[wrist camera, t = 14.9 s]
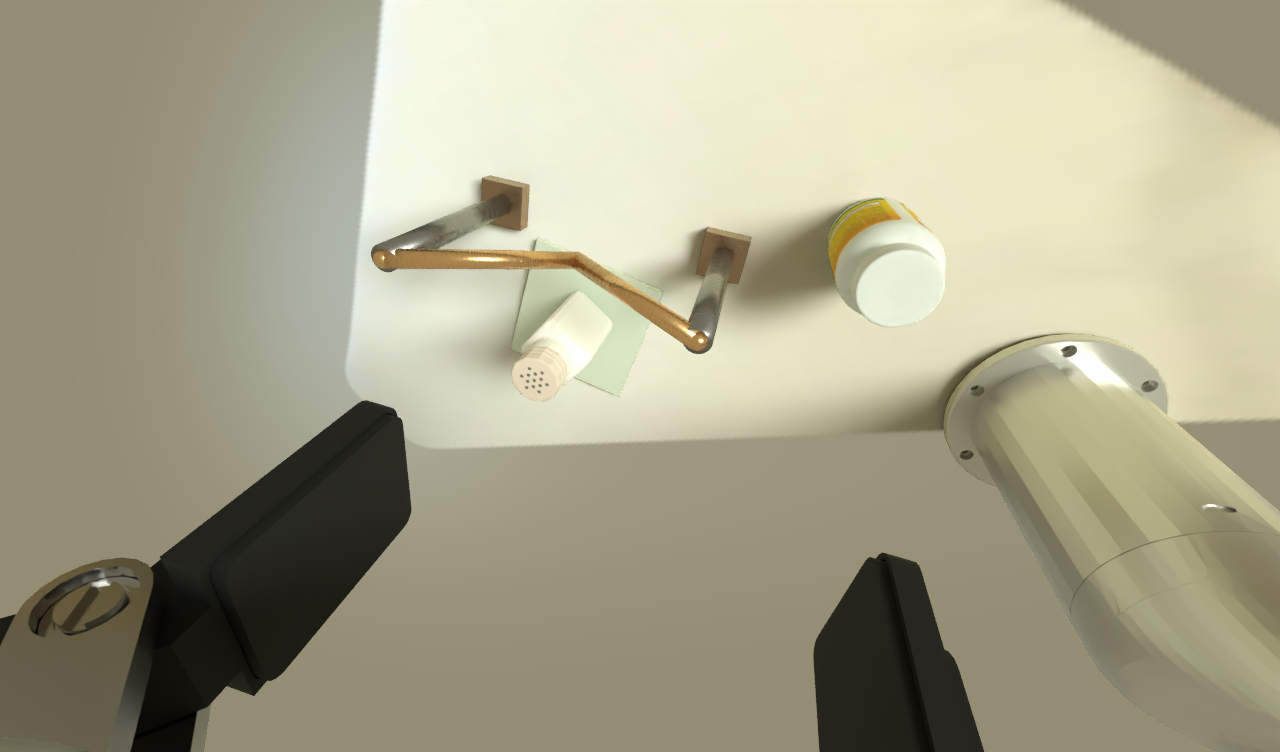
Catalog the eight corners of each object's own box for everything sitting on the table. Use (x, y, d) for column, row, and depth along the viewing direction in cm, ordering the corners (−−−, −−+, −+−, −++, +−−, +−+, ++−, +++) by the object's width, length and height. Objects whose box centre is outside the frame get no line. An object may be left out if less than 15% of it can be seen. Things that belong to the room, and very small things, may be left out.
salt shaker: (585, 352, 41) (539, 417, 33) (549, 317, 40) (492, 376, 32) (618, 322, 39) (577, 384, 31) (580, 285, 38) (528, 339, 30)
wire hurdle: (751, 237, 34) (737, 324, 22) (739, 278, 36) (720, 380, 24) (490, 175, 36) (345, 224, 24) (489, 217, 38) (353, 282, 26)
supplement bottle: (932, 208, 31) (987, 253, 23) (892, 288, 34) (928, 353, 26) (845, 185, 32) (869, 222, 23) (812, 266, 34) (824, 323, 26)
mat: (663, 291, 38) (661, 294, 37) (621, 393, 43) (619, 396, 43) (540, 237, 38) (536, 239, 37) (513, 345, 43) (510, 349, 43)
